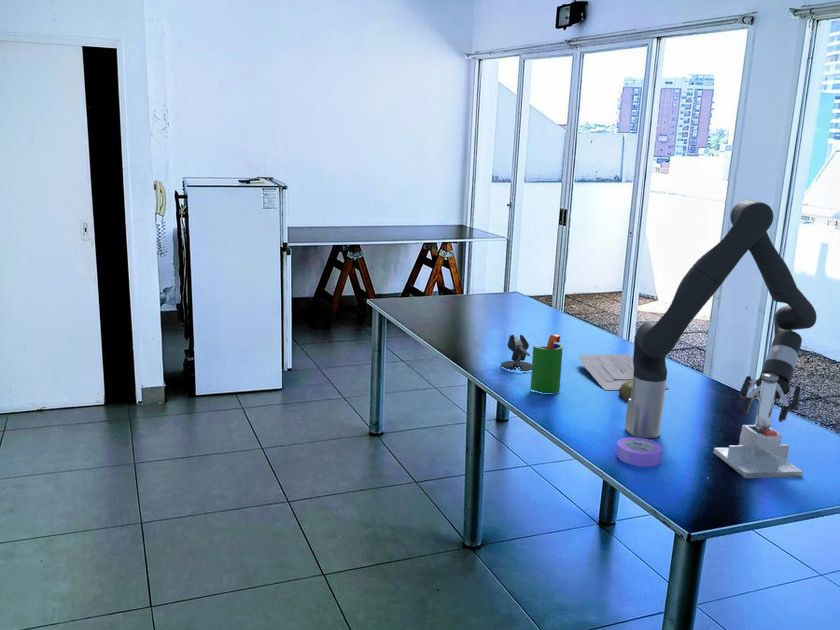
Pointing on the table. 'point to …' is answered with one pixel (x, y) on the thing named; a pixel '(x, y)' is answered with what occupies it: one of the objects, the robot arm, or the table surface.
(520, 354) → the gun turret
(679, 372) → the table surface
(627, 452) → the masking tape
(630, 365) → the papers
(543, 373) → the green pen holder
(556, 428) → the table surface
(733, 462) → the jack base
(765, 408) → the cylinder
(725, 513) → the table surface
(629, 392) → the weight
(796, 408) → the robot arm
